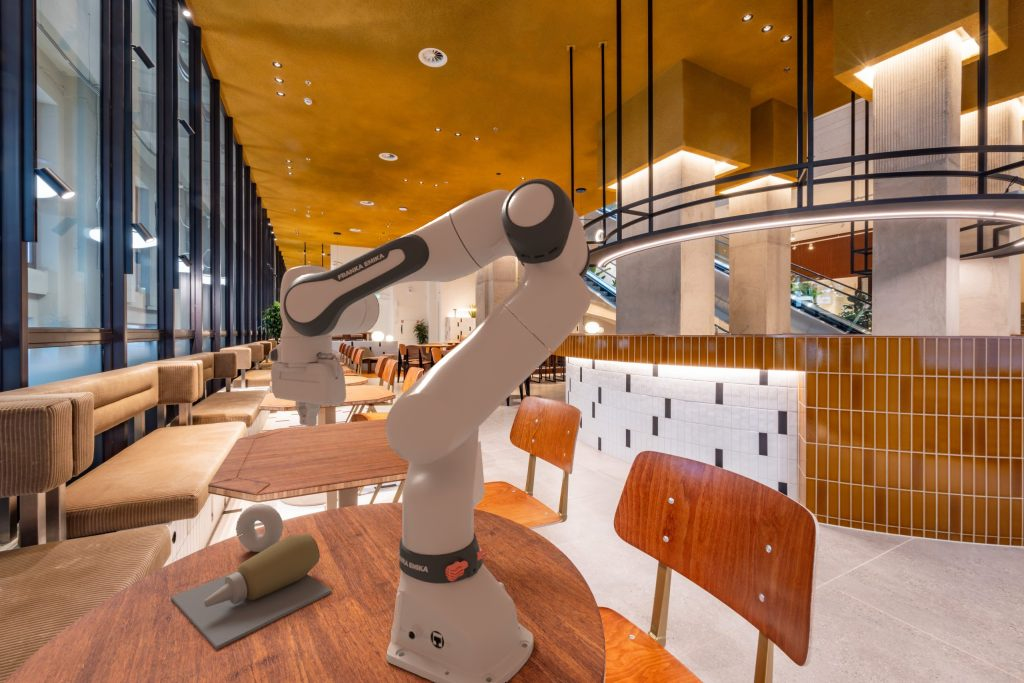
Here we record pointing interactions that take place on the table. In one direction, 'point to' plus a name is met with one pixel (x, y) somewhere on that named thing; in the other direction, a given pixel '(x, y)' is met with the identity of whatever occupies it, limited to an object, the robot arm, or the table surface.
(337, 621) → the table surface
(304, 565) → the squeeze bottle
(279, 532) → the donut
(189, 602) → the mat
